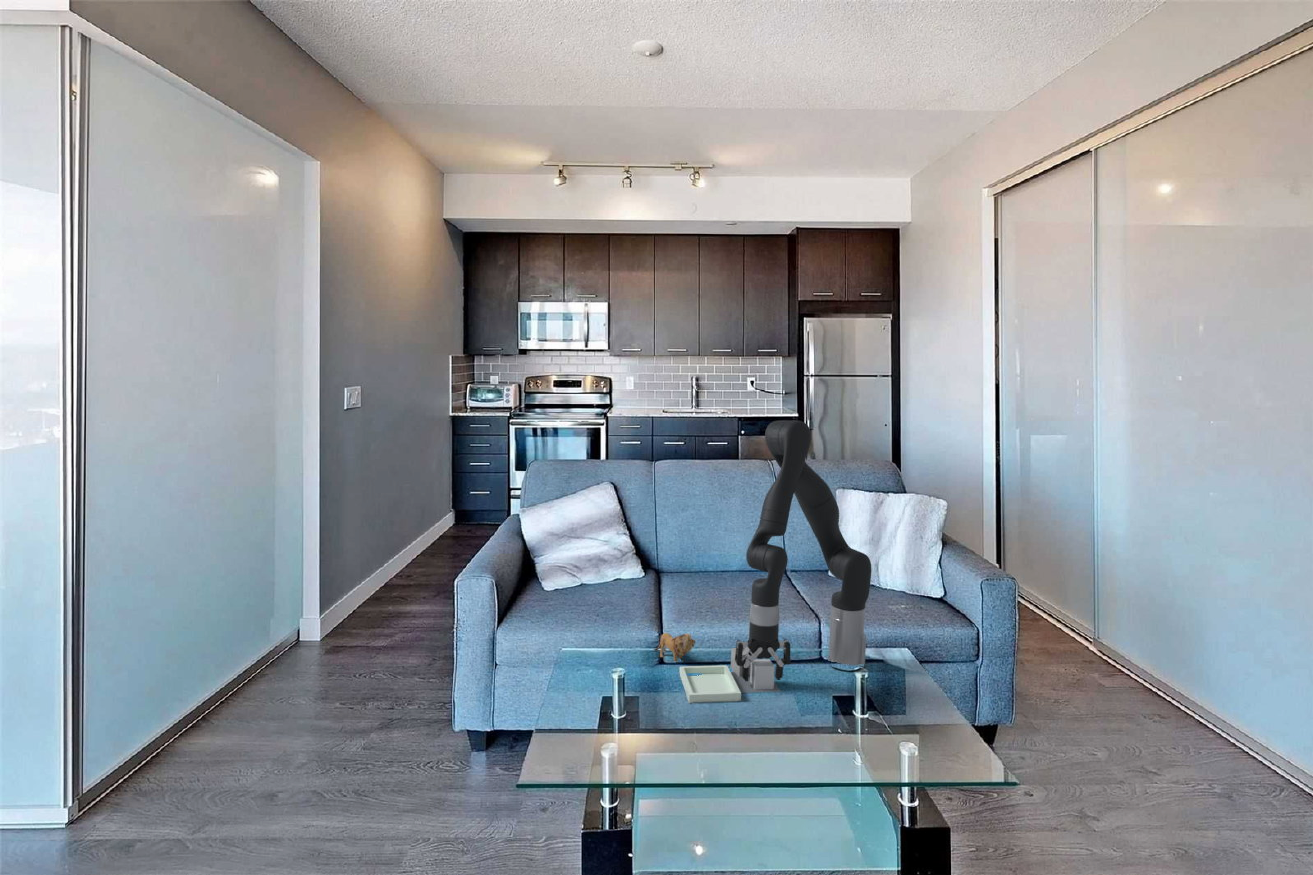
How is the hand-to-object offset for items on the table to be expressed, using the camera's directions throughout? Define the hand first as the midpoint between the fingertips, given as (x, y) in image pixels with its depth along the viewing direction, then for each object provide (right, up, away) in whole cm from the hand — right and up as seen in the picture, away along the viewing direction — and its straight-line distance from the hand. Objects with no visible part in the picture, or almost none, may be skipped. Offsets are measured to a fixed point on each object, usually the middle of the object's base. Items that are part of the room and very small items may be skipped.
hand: (761, 679), depth 202 cm
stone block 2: (0, -2, 0) cm, 2 cm away
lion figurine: (-23, 0, +16) cm, 28 cm away
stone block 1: (-4, -1, +8) cm, 9 cm away
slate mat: (-2, -1, +4) cm, 5 cm away
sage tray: (-14, -2, -1) cm, 14 cm away
